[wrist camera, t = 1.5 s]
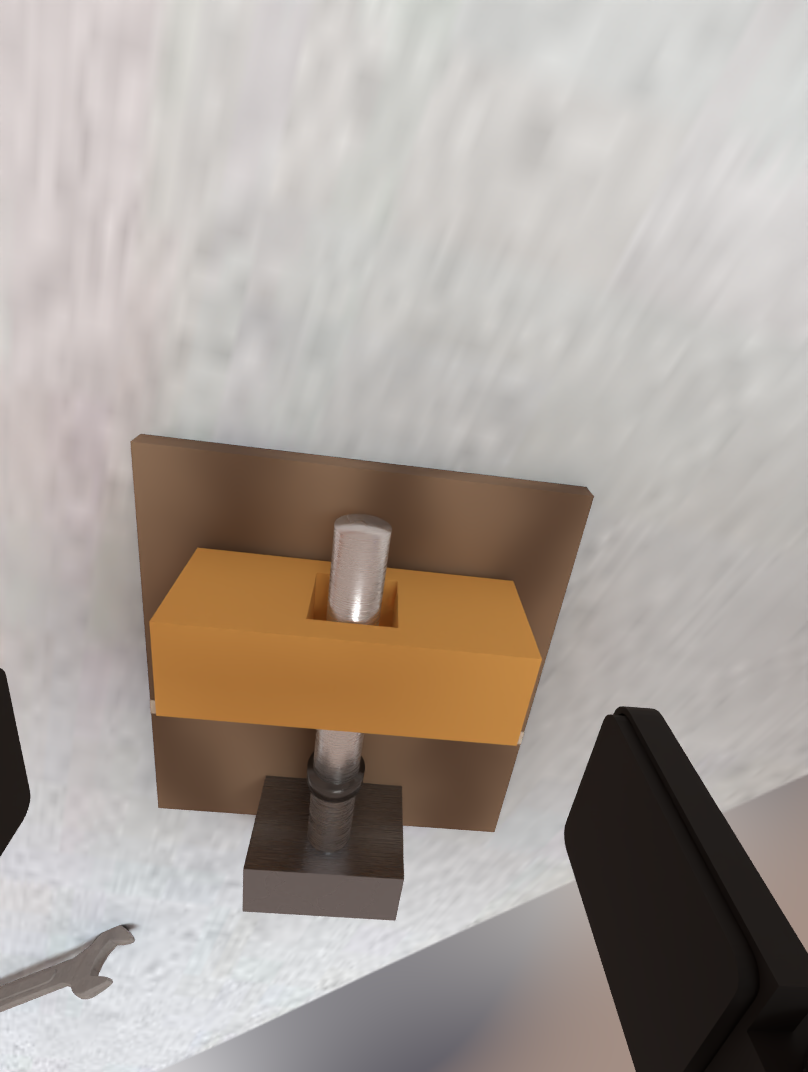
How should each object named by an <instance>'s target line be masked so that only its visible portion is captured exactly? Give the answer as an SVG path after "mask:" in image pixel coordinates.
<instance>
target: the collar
mask: <svg viewBox="0 0 808 1072" xmlns="http://www.w3.org/2000/svg"><path fill="white" fill-rule="evenodd" d="M330 569H331V562H329V561H320V560H310V559H301V558H291V557H282V556H272V555H263V554H253V553H244V552H234V551H225V550H215V549H206V548H197V549H196V551H195V552H194V554H193V555H192V557H191V559H190V560H189V562H188V563H187V565H186V566H185V568H184V569H183V571H182V572H181V574H180V575H179V577H178V578H177V580H176V582H175V583H174V585H173V586H172V588H171V589H170V591H169V592H168V594H167V595H166V597H165V598H164V600H163V601H162V603H161V605H160V606H159V608H158V609H157V611H156V612H155V614H154V615H153V617H152V618H151V620H150V621H149V624H150V638H151V652H152V666H153V679H154V693H155V707H156V716H167V717H178V718H190V719H202V720H214V721H226V722H238V723H250V724H262V725H274V726H286V727H298V728H310V729H322V730H334V731H346V732H357V733H369V734H381V735H393V736H405V737H417V738H429V739H441V740H453V741H465V742H477V743H489V744H501V745H513V746H517V743H518V740H519V736H520V733H521V730H522V726H523V723H524V719H525V716H526V712H527V709H528V706H529V702H530V699H531V695H532V692H533V689H534V685H535V682H536V678H537V675H538V672H539V668H540V665H541V661H542V658H541V655H540V652H539V649H538V647H537V644H536V641H535V639H534V636H533V633H532V630H531V628H530V625H529V622H528V620H527V617H526V614H525V611H524V609H523V606H522V603H521V601H520V598H519V595H518V593H517V590H516V587H515V584H514V582H513V581H509V580H499V579H490V578H480V577H471V576H462V575H452V574H443V573H433V572H424V571H414V570H405V569H395V568H386V575H385V583H384V590H383V597H382V605H381V612H380V619H379V626H373V625H363V624H352V623H342V622H332V621H326V614H327V603H328V592H329V580H330Z"/></svg>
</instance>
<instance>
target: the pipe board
mask: <svg viewBox="0 0 808 1072" xmlns="http://www.w3.org/2000/svg"><path fill="white" fill-rule="evenodd" d="M131 455H132V468H133V481H134V494H135V507H136V520H137V533H138V546H139V559H140V572H141V585H142V598H143V612H144V625H145V638H146V651H147V664H148V677H149V690H150V709H151V716H152V729H153V742H154V755H155V768H156V782H157V795H158V808H168V809H181V810H195V811H209V812H223V813H237V814H251V815H256V814H257V810H258V806H259V802H260V798H261V793H262V789H263V785H264V781H265V777H266V775H268V776H281V777H294V778H306V777H307V764H308V760H309V758H310V756H311V754H312V753H313V752H314V751H315V740H316V729H310V728H298V727H286V726H274V725H262V724H250V723H238V722H226V721H214V720H202V719H190V718H178V717H167V716H156V707H155V693H154V679H153V666H152V652H151V638H150V624H149V621H150V620H151V618H152V617H153V615H154V614H155V612H156V611H157V609H158V608H159V606H160V605H161V603H162V601H163V600H164V598H165V597H166V595H167V594H168V592H169V591H170V589H171V588H172V586H173V585H174V583H175V582H176V580H177V578H178V577H179V575H180V574H181V572H182V571H183V569H184V568H185V566H186V565H187V563H188V562H189V560H190V559H191V557H192V555H193V554H194V552H195V551H196V549H197V548H206V549H215V550H225V551H234V552H244V553H253V554H263V555H272V556H282V557H291V558H301V559H310V560H320V561H329V562H331V558H332V546H333V535H334V523H335V521H336V519H338V518H339V517H341V516H344V515H349V514H366V515H372V516H376V517H379V518H381V519H383V520H385V521H386V522H388V523H389V524H390V525H391V527H392V531H391V539H390V546H389V553H388V561H387V568H395V569H405V570H414V571H424V572H433V573H443V574H452V575H462V576H471V577H480V578H490V579H499V580H509V581H513V582H514V584H515V587H516V590H517V593H518V595H519V598H520V601H521V603H522V606H523V609H524V611H525V614H526V617H527V620H528V622H529V625H530V628H531V630H532V633H533V636H534V639H535V641H536V644H537V647H538V649H539V652H540V655H541V658H542V661H541V665H540V668H539V672H538V675H537V678H536V682H535V685H534V689H533V692H532V695H531V699H530V702H529V706H528V709H527V712H526V716H525V719H524V723H523V726H522V730H521V733H520V736H519V740H518V743H517V746H513V745H501V744H489V743H477V742H465V741H453V740H441V739H429V738H417V737H405V736H393V735H381V734H369V733H364V737H363V744H362V752H361V756H362V757H363V759H364V762H365V772H364V779H363V783H371V784H384V785H397V786H402V813H403V826H417V827H431V828H445V829H459V830H473V831H487V832H494V831H495V828H496V825H497V821H498V818H499V815H500V811H501V808H502V804H503V801H504V798H505V794H506V791H507V788H508V784H509V781H510V777H511V774H512V771H513V767H514V764H515V761H516V757H517V754H518V750H519V747H520V744H521V742H522V738H523V735H524V730H525V727H526V724H527V720H528V717H529V713H530V710H531V707H532V703H533V700H534V697H535V693H536V690H537V686H538V683H539V680H540V676H541V673H542V670H543V666H544V663H545V660H546V656H547V653H548V649H549V646H550V643H551V639H552V636H553V633H554V629H555V626H556V622H557V619H558V616H559V612H560V609H561V606H562V602H563V599H564V595H565V592H566V589H567V585H568V582H569V579H570V575H571V572H572V569H573V565H574V562H575V558H576V555H577V552H578V548H579V545H580V542H581V538H582V535H583V531H584V528H585V525H586V521H587V518H588V515H589V511H590V508H591V505H592V501H593V498H594V496H593V495H592V493H591V492H590V491H589V490H588V489H587V487H581V486H572V485H564V484H556V483H547V482H539V481H531V480H522V479H514V478H505V477H497V476H489V475H480V474H472V473H463V472H455V471H447V470H438V469H430V468H422V467H413V466H405V465H396V464H388V463H380V462H371V461H363V460H354V459H346V458H338V457H329V456H321V455H313V454H304V453H296V452H287V451H279V450H271V449H262V448H254V447H245V446H237V445H229V444H220V443H212V442H204V441H195V440H187V439H178V438H170V437H162V436H153V435H145V434H140V435H139V436H137V437H136V438H135V439H133V440H132V441H131Z"/></svg>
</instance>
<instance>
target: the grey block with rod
mask: <svg viewBox="0 0 808 1072" xmlns="http://www.w3.org/2000/svg"><path fill="white" fill-rule="evenodd" d="M391 531H392V527H391V525H390V524H389V523H388V522H386V521H385V520H383V519H381V518H379V517H376V516H372V515H366V514H349V515H344V516H341V517H339V518H338V519H336V521H335V523H334V535H333V546H332V558H331V569H330V580H329V592H328V603H327V614H326V621H332V622H342V623H352V624H363V625H373V626H379V619H380V612H381V605H382V597H383V590H384V583H385V575H386V568H387V561H388V553H389V546H390V539H391ZM363 737H364V733H357V732H346V731H334V730H322V729H316V740H315V751H314V752H313V753H312V754H311V756H310V758H309V760H308V764H307V777H306V778H294V777H281V776H268V775H266V777H265V781H264V785H263V789H262V793H261V798H260V802H259V806H258V810H257V814H256V818H255V823H254V827H253V831H252V835H251V839H250V844H249V848H248V852H247V856H246V860H245V865H244V869H243V911H245V912H262V913H279V914H296V915H312V916H329V917H346V918H363V919H380V920H396V915H397V910H398V905H399V900H400V896H401V891H402V886H403V881H404V863H403V813H402V786H397V785H384V784H371V783H363V779H364V772H365V762H364V759H363V757H362V756H361V752H362V744H363Z"/></svg>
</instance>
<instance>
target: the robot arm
mask: <svg viewBox="0 0 808 1072" xmlns="http://www.w3.org/2000/svg"><path fill="white" fill-rule="evenodd" d="M29 803H30V789H29V784H28V779H27V775H26V770H25V765H24V760H23V755H22V750H21V746H20V741H19V736H18V731H17V726H16V721H15V716H14V712H13V707H12V702H11V697H10V692H9V687H8V683H7V678H6V674H5V672H4V670H3V669H1V668H0V856H1V855H2V853H3V851H4V850H5V848H6V847H7V845H8V843H9V842H10V840H11V839H12V837H13V835H14V834H15V832H16V831H17V829H18V828H19V826H20V824H21V823H22V821H23V819H24V817H25V816H26V813H27V810H28V807H29ZM564 839H565V846H566V850H567V853H568V856H569V860H570V863H571V866H572V869H573V872H574V876H575V879H576V882H577V885H578V888H579V892H580V895H581V898H582V901H583V904H584V907H585V911H586V913H587V917H588V920H589V923H590V927H591V930H592V933H593V936H594V939H595V942H596V946H597V949H598V952H599V955H600V958H601V962H602V965H603V968H604V971H605V974H606V977H607V981H608V984H609V987H610V990H611V994H612V997H613V999H614V1003H615V1006H616V1009H617V1013H618V1016H619V1019H620V1022H621V1025H622V1029H623V1032H624V1035H625V1038H626V1041H627V1045H628V1048H629V1051H630V1054H631V1057H632V1060H633V1063H634V1067H635V1070H636V1072H808V953H807V952H806V950H805V948H804V947H803V945H802V943H801V942H800V940H799V938H798V937H797V935H796V933H795V932H794V930H793V928H792V927H791V925H790V924H789V922H788V920H787V919H786V917H785V915H784V914H783V912H782V911H781V909H780V907H779V906H778V904H777V902H776V901H775V899H774V898H773V896H772V894H771V893H770V891H769V889H768V888H767V886H766V884H765V883H764V881H763V879H762V878H761V877H760V875H759V873H758V871H757V870H756V868H755V867H754V865H753V863H752V861H751V860H750V858H749V857H748V855H747V853H746V852H745V850H744V848H743V847H742V845H741V843H740V842H739V840H738V839H737V837H736V835H735V834H734V832H733V830H732V829H731V827H730V825H729V824H728V822H727V821H726V819H725V817H724V816H723V814H722V812H721V811H720V810H719V808H718V806H717V805H716V803H715V801H714V800H713V798H712V797H711V795H710V793H709V792H708V790H707V788H706V787H705V785H704V783H703V782H702V780H701V779H700V777H699V775H698V774H697V772H696V770H695V769H694V767H693V765H692V764H691V762H690V761H689V759H688V757H687V756H686V754H685V752H684V751H683V749H682V747H681V746H680V744H679V743H678V741H677V739H676V738H675V736H674V734H673V733H672V731H671V729H670V728H669V726H668V725H667V723H666V721H665V720H664V718H663V716H662V715H661V714H660V713H659V711H657V710H655V709H650V708H637V707H624V706H623V707H619V708H617V709H616V710H615V712H614V714H613V715H607V716H606V717H605V719H604V721H603V723H602V726H601V729H600V731H599V734H598V737H597V740H596V742H595V745H594V748H593V750H592V753H591V756H590V759H589V761H588V764H587V767H586V770H585V772H584V775H583V778H582V780H581V783H580V786H579V789H578V791H577V794H576V797H575V799H574V802H573V805H572V808H571V810H570V813H569V816H568V818H567V821H566V824H565V830H564Z"/></svg>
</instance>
